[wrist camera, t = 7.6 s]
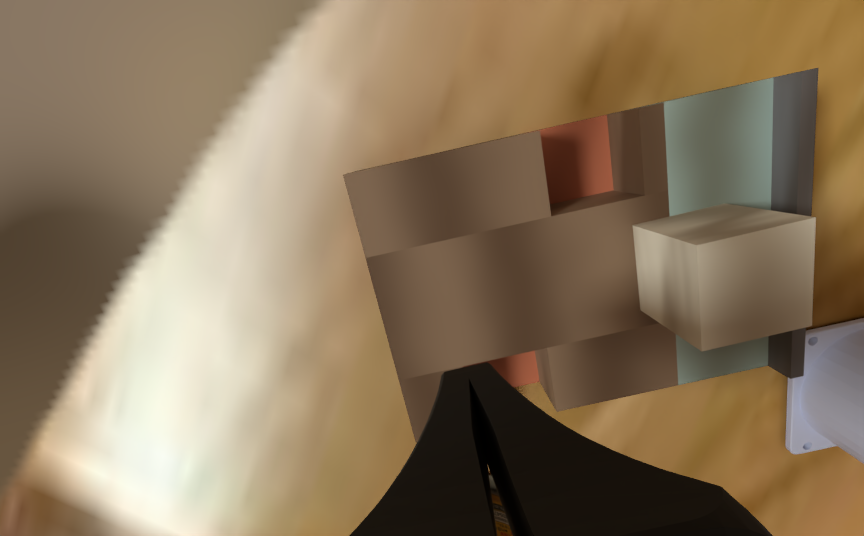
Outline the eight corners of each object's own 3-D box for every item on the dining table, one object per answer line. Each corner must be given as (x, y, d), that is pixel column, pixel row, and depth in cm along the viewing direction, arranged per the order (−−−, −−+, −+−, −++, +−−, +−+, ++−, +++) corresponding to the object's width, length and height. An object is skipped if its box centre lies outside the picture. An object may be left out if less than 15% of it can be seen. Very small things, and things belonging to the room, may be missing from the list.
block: (724, 203, 17) (815, 217, 13) (727, 289, 18) (812, 326, 14) (632, 225, 17) (696, 245, 13) (640, 310, 18) (701, 351, 14)
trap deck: (730, 86, 19) (818, 67, 15) (732, 335, 22) (803, 375, 18) (353, 172, 19) (337, 176, 15) (415, 405, 22) (416, 460, 18)
